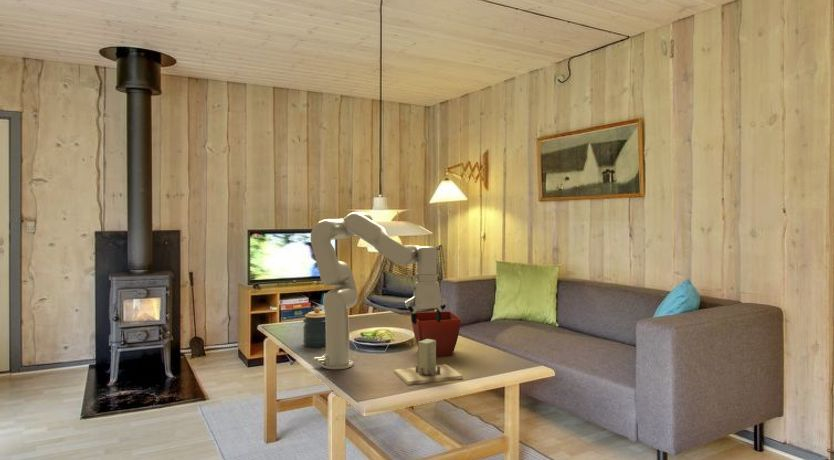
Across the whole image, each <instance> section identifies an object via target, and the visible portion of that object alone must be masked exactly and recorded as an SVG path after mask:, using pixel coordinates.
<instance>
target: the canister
mask: <svg viewBox="0 0 834 460" xmlns="http://www.w3.org/2000/svg"><path fill="white" fill-rule="evenodd" d="M304 317H305V318H304V319H302V321H303V327H302V329H303V339H302V342H303V346H304V347H305V348H306V347H307V348H311V349H312V348H313V349H314V348H326V321H325V311H322V310H320V308H319V307H315V308H314V311H309V312H307V313H306V314H304Z"/></svg>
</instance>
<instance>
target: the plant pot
mask: <svg viewBox="0 0 834 460" xmlns="http://www.w3.org/2000/svg"><path fill="white" fill-rule="evenodd" d="M416 314H417V324H414V323H412V322H411V325H412V330H413V335H414V338H415V339H414V340H415V341H416V346H417V347H418V342H419V341H422V340H425V339H431V340H436V357H450V356H452V355H454V351H455V348H456V346H457V342H458V338H459V334H460V328H461V322H462V319H461V318H460V317H459V316H457V315H456V314H454V313H453V312H452V311H450V310H447V311H442V312H441V320H440V323H439V322H437V321H436V311H425V312H424V311H423V312H421V311H420V312H416Z"/></svg>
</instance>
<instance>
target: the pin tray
mask: <svg viewBox="0 0 834 460" xmlns="http://www.w3.org/2000/svg"><path fill="white" fill-rule="evenodd" d="M394 374H395V375H397V376H398V378H399V379H400V380H402V381H403V382H404V383H405V384H406V385H407V386H410V385H418V384H426V383H435V382H444V381H455V380H461V379H462V380H463V379H464V378H463V376H464V375H462V374H461V373H460V372H459V371H457V370H456V369H454V368H452V367H450V366H449V365H448V364H445V363H443V364H436V371H434V369H431V373H430V374H427V375H426V374H423V368H420V373H418V364H415V366H414V367H406V368H397V369H394Z"/></svg>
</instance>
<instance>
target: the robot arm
mask: <svg viewBox="0 0 834 460" xmlns="http://www.w3.org/2000/svg"><path fill="white" fill-rule="evenodd" d="M354 236H355V237H358V238H360V239H361V240H363V241H364V242H366V243H368V244H369V245H371V246H372V247H373V248H374V249H375V250H376V251H377V252H378V253H379V254H380V255H381V256H383V257H384V258H386V259H388V260H389V261H391V262H392V263H394V264H395V265H399V266H405V267H406V266H409V265H413V264H416V275H413V280H416V281H415V283H414V287H413V294H412V295H413V296H412V297H411V298H408V299H407V300H406V301H404V304H405V307H406V309H407V310H408V311H409V312H410V320H411V324H412V323H414V324H417V314H416V313H417V311H418V310H424V309H426V310H427V309H436V311H435V312H436V321H437V322H439V323H440V320H441V312H444V311H443V310H444V309H445V308H446V306H447V305H448V302H449V301H448V299H446V298H445V297H442V296H441V288H440V282H439V281H437V277H438V276H437V271H438V270H437V267H438V266H437V265H438V264H437V263H438V259H437V258H438V255H437V254H438V250H437V247H436V246H432V245H431V246H430V245H422V246H421V245H415V244H406V245H403V244H401V243H400V242H398V241H396V240H395V239H393V238H392V237H390V236H389V235H388V234H387V229H386V228H385V227H384V226H383V225H380V224H378V223H377V222H375V221H374V219H373V218H372V216H371V215H370V214H369V213H367V212H363V211H353V212H350V213H348V214H347V215H346V216H345V217H343V218H327V219H322V220H320V221H318V222H317V223H316V224H315V225H314V226H313V228H312V230H311V233H310V244H311V248H312V250H313V254H314V258H315V262H316V266H317V271H318V275H319V277H320V280H321V282H322V284H323V285H325V286H328V287H333V286H334V288H332V289H330V290H329V291H328V292H326V293H325V295H324V297H323V301H322V302H323V303H322V304H323V305H322V306H323V310H324V312H325V321H326V346H325V353H324V354H323V355H321V356H314V357H313V362H314V363H318V364H319V363H321V367H322V368H324V369H328V370H344V369H349V368H352V367H353V365H354V362H353V360H351V359H350V320H349V319H350V318H349V314H348V309H351V308H353V307H354V306H356V304H357V303H358V300H359V295H358V289H357V285H356V282H355V278H354V274H353V271H352V268H351V267H350V266H349V264H348V263H346V262H345V261H341V260H338V256H337V254H336V249H335V247H334V245H333V244H332V241H333V240H334V241H335V240H344V239H347V238H350V237H354ZM441 301H442V302H441ZM411 303H412V305H413V306H411ZM441 303H442V304H441Z"/></svg>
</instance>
